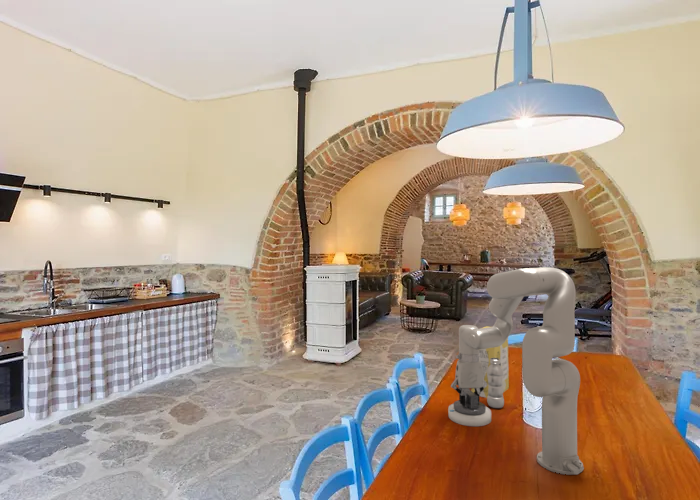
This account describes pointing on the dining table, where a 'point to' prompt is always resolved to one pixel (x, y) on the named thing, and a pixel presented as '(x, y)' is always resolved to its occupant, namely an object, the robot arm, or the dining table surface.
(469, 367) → the robot arm
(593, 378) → the dining table surface
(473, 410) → the dial knob
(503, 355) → the pasta box
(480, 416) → the dial housing
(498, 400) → the plastic bottle
